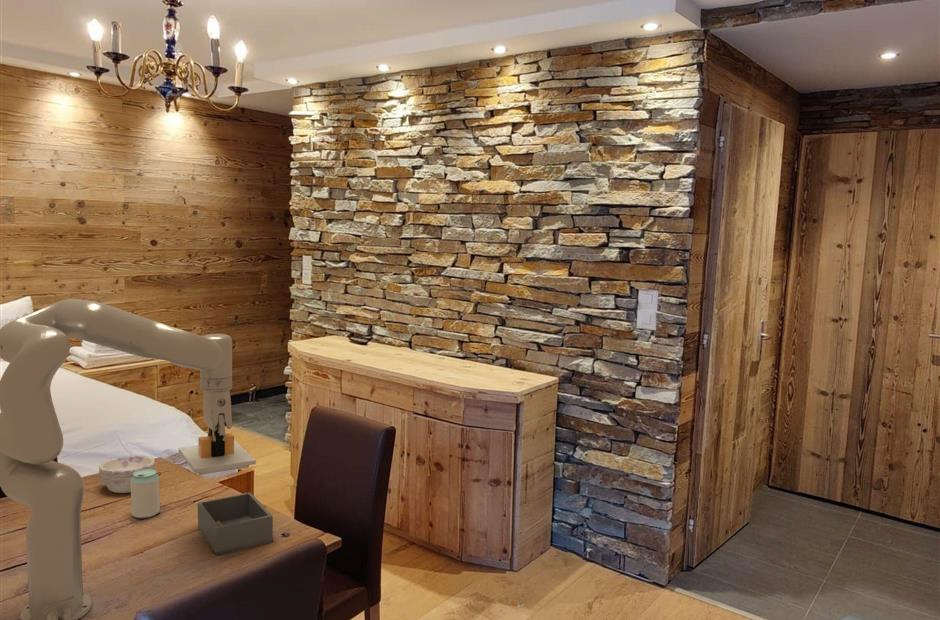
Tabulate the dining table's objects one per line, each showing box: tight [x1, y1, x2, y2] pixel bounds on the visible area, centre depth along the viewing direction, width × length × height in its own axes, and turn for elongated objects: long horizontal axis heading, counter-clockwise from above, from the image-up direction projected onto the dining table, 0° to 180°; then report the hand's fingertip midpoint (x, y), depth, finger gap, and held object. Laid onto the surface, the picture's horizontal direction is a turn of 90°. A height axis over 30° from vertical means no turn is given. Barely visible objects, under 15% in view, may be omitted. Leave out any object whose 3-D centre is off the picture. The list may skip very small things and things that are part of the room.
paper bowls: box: [98, 455, 156, 494], centre depth 205 cm, size 15×15×8 cm
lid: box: [178, 432, 257, 476], centre depth 172 cm, size 18×14×6 cm
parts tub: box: [197, 492, 274, 556], centre depth 177 cm, size 18×14×7 cm
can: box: [130, 469, 161, 520], centre depth 187 cm, size 7×7×12 cm
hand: (216, 453), depth 172 cm, fingers closed on lid, 3 cm apart
